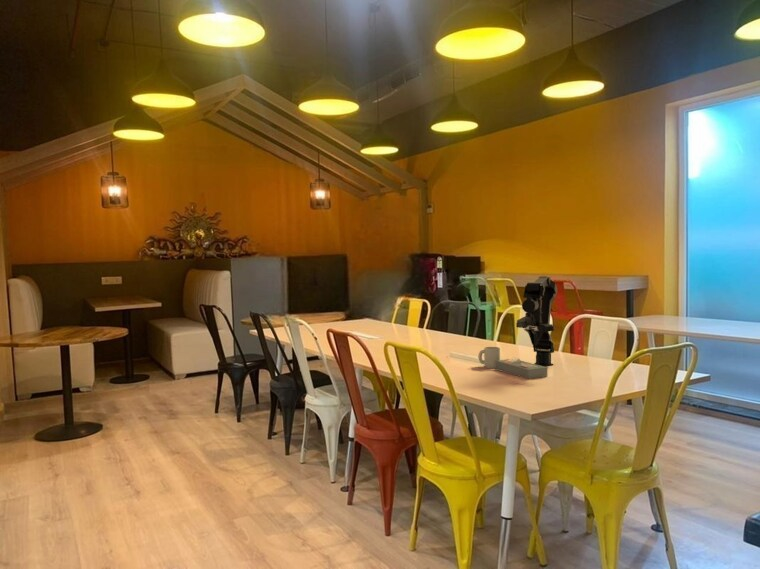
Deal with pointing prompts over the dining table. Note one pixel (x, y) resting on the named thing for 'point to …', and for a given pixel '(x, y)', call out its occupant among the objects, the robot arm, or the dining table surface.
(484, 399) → the dining table surface
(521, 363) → the rocker
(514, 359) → the rocker
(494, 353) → the cup
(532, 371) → the grey rocker switch panel
